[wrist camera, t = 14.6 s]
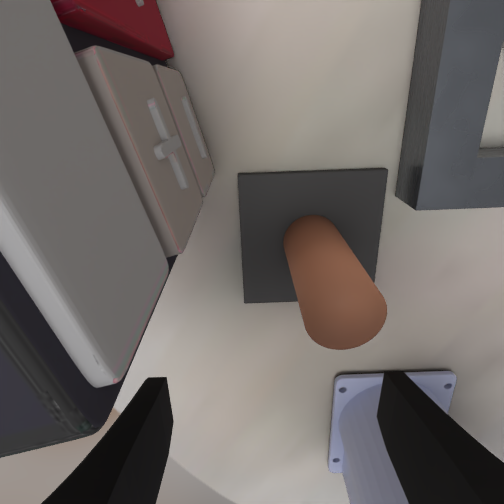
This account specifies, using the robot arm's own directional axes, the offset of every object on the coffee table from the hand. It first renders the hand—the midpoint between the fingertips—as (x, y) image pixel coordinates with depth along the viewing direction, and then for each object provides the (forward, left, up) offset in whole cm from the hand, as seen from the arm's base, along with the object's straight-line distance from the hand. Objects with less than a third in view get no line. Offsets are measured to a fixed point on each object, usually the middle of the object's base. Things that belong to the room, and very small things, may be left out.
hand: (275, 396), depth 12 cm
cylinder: (+2, -3, -9) cm, 9 cm away
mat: (+2, -3, -9) cm, 10 cm away
